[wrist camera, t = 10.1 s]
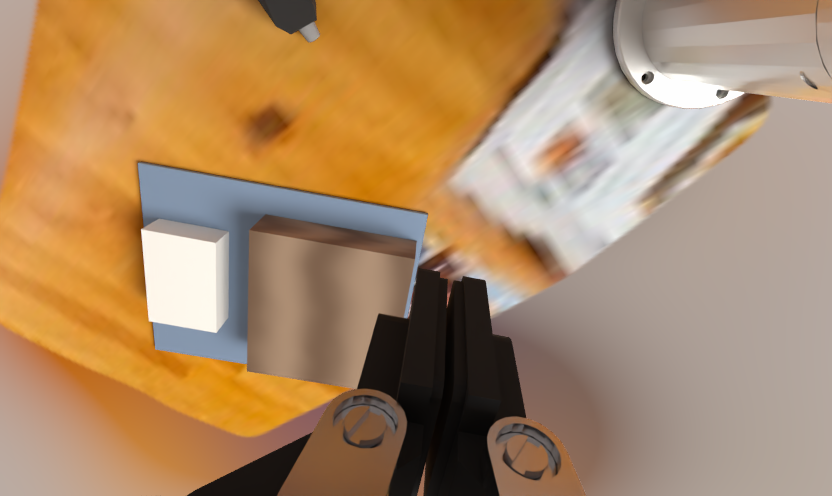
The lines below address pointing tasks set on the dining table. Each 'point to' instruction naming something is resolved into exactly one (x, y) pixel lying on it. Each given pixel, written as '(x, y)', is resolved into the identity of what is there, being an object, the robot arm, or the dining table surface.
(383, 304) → the block
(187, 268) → the tile
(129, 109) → the dining table surface
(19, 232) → the dining table surface
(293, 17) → the gun
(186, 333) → the placemat
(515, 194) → the dining table surface
